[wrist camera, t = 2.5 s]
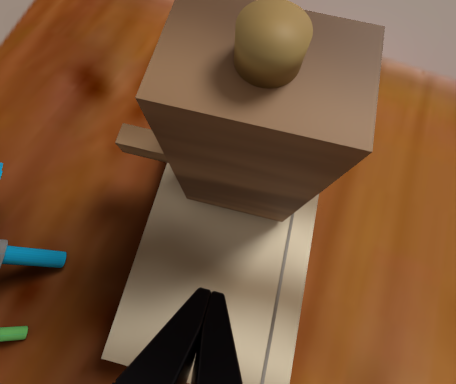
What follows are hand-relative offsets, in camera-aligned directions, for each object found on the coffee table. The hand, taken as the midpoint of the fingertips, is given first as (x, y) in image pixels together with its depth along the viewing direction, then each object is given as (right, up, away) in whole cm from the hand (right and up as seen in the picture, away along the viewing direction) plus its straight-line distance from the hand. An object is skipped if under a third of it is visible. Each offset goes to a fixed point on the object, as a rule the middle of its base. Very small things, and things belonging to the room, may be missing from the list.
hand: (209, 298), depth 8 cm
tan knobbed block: (0, +4, +8) cm, 9 cm away
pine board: (+1, +3, +10) cm, 11 cm away
